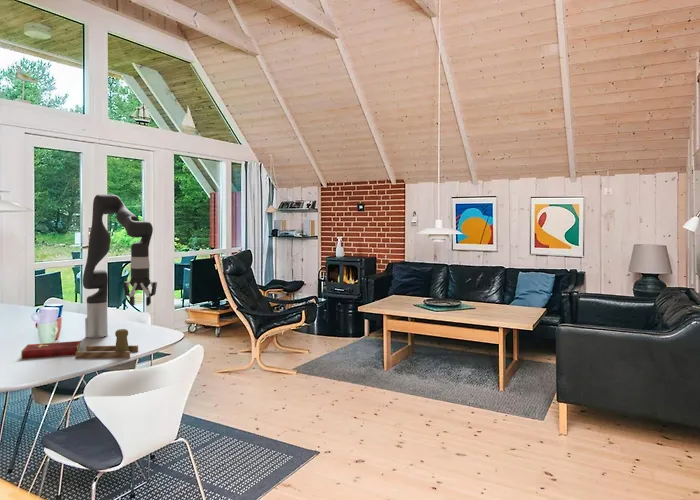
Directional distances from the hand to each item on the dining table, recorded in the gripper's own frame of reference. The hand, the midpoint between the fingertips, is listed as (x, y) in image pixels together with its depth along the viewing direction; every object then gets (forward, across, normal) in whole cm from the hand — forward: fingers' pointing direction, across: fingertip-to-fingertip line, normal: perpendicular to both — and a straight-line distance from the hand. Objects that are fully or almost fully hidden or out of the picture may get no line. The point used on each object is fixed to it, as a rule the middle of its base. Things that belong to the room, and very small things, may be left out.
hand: (140, 305), depth 220 cm
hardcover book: (+22, -38, +2) cm, 44 cm away
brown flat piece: (+22, -14, 0) cm, 26 cm away
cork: (+22, -8, 0) cm, 23 cm away
